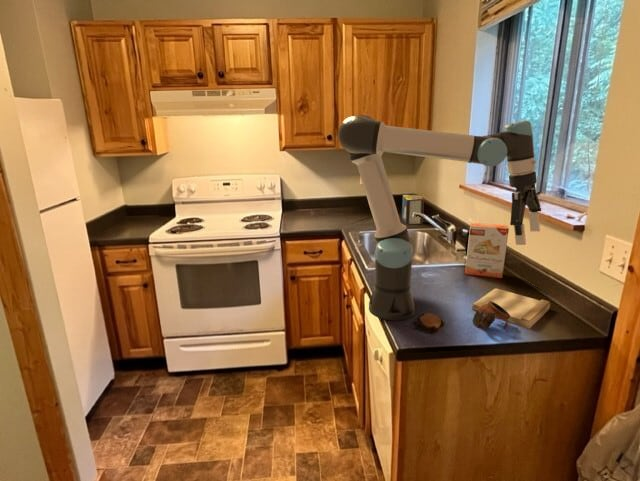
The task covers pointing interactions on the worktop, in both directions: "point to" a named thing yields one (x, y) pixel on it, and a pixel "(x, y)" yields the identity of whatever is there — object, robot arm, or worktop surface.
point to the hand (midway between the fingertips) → (528, 237)
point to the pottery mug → (489, 315)
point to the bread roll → (428, 323)
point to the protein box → (412, 209)
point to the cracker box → (486, 249)
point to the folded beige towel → (516, 306)
